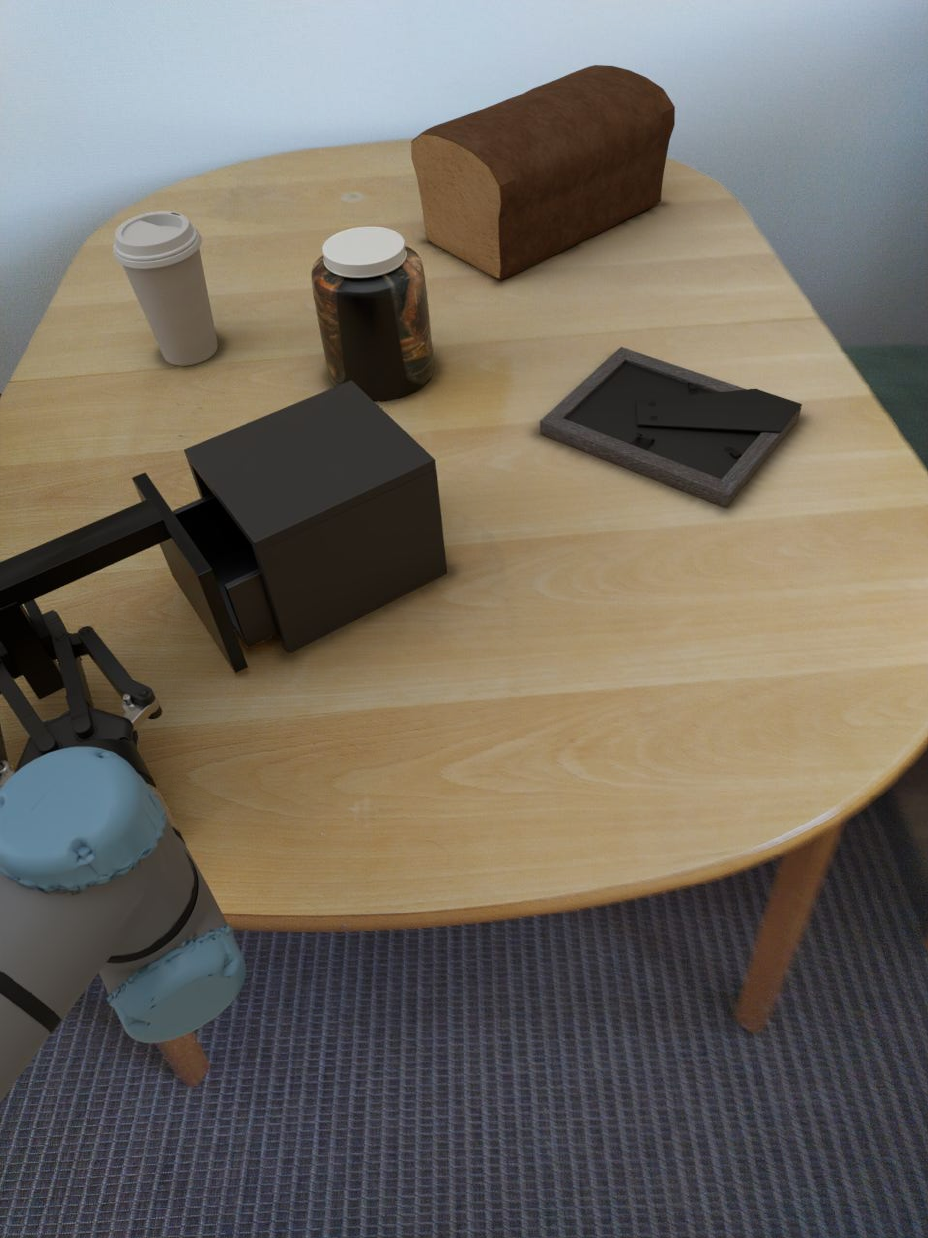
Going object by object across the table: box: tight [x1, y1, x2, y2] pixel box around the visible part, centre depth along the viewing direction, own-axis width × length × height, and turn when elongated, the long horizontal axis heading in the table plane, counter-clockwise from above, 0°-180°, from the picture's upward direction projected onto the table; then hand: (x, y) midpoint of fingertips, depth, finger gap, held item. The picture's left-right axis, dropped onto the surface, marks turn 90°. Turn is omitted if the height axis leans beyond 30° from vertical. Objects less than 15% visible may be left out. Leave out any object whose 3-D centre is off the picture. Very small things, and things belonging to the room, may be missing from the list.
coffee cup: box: [112, 210, 219, 367], centre depth 107 cm, size 10×10×15 cm
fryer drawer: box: [0, 472, 279, 701], centre depth 77 cm, size 30×14×13 cm, turn 123°
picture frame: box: [539, 346, 803, 509], centre depth 96 cm, size 16×2×21 cm
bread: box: [410, 64, 676, 280], centre depth 122 cm, size 18×30×16 cm, turn 129°
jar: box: [310, 225, 435, 401], centre depth 101 cm, size 12×12×15 cm
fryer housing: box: [183, 380, 448, 654], centre depth 82 cm, size 16×14×13 cm
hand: (8, 607), depth 76 cm, fingers closed on fryer drawer, 2 cm apart
